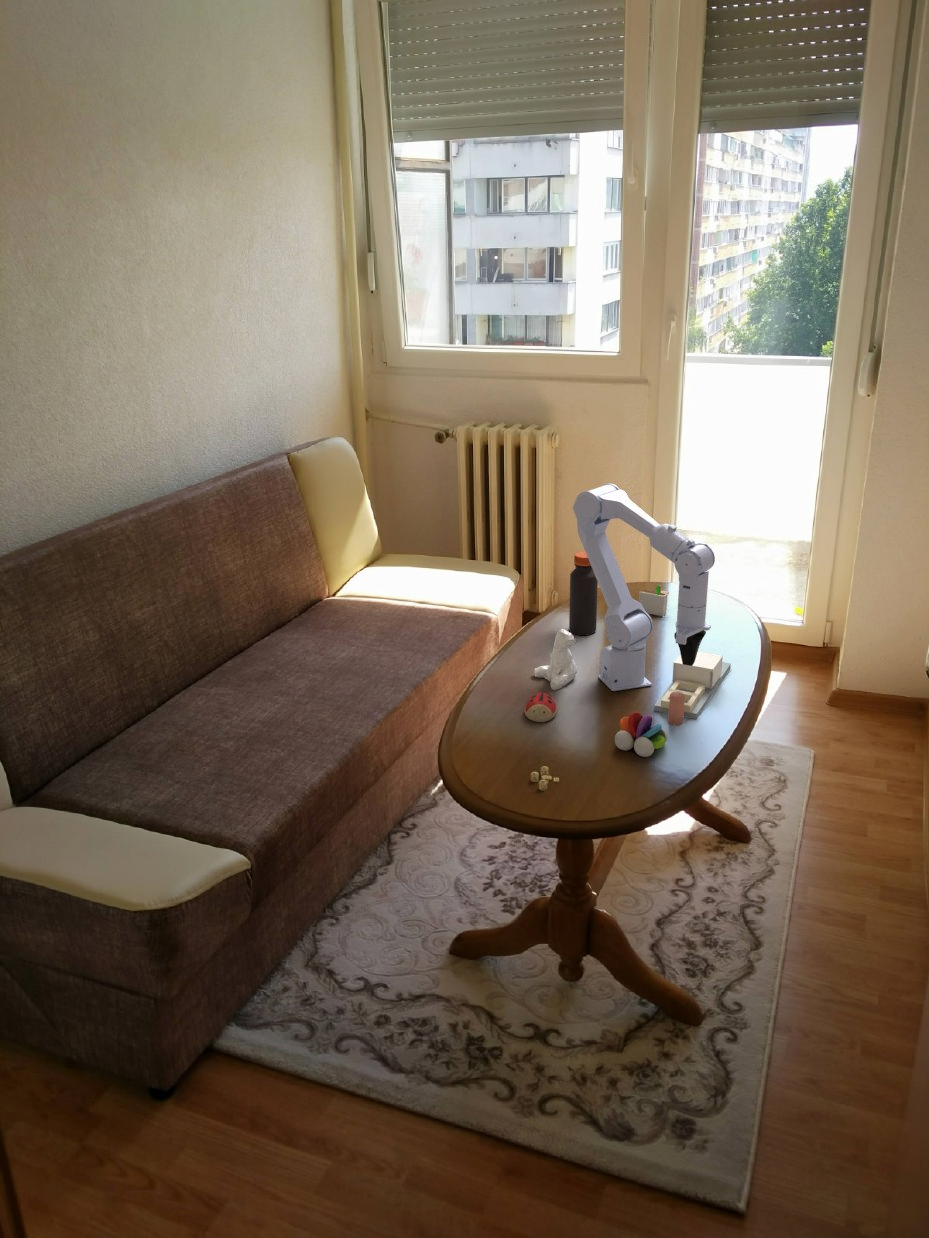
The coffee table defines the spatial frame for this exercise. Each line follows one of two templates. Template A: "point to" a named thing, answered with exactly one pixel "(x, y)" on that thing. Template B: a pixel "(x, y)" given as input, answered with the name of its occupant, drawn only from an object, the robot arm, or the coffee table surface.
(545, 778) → the dice set
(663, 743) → the rainbow fan toy
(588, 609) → the bottle
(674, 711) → the peg
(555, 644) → the white creature statuette
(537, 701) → the ladybug figurine
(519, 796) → the coffee table surface
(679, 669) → the block
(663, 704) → the board
